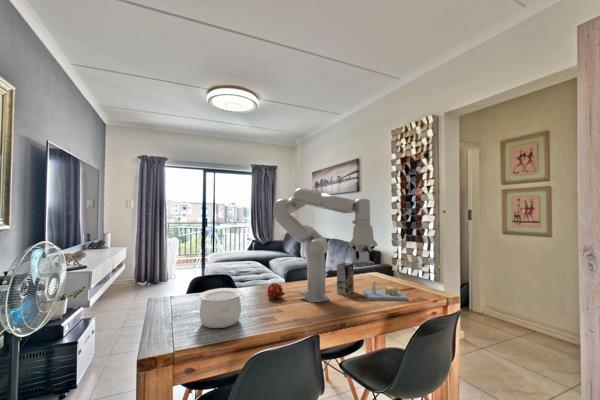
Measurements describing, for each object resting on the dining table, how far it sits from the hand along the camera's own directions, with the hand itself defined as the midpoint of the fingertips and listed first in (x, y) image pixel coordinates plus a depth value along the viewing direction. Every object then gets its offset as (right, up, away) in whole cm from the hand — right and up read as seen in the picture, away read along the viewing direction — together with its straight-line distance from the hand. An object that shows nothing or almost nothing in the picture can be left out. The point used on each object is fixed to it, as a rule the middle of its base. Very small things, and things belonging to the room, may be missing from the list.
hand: (363, 258), depth 143 cm
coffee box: (-6, -23, +18) cm, 30 cm away
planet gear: (0, -3, 0) cm, 3 cm away
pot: (-65, -22, -25) cm, 73 cm away
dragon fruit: (-45, -23, +8) cm, 52 cm away
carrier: (+14, -23, +11) cm, 29 cm away
